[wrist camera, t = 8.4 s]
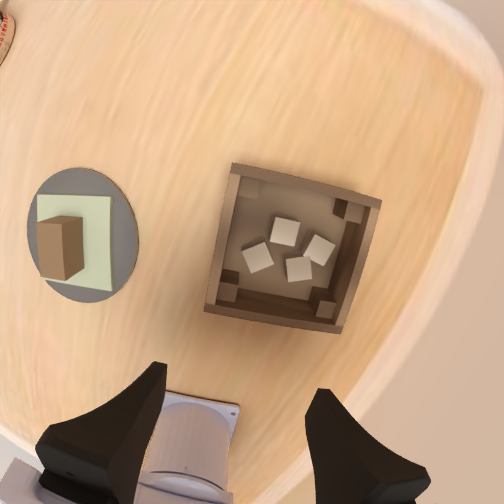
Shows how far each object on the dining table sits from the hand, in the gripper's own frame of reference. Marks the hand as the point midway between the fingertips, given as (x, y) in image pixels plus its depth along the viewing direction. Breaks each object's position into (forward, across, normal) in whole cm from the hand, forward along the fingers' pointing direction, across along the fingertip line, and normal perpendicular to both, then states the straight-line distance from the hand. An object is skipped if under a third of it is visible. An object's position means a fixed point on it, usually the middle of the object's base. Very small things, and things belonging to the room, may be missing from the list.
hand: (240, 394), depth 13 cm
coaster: (+10, +14, -2) cm, 18 cm away
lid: (+10, +14, -2) cm, 17 cm away
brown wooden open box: (+10, -2, -5) cm, 12 cm away
